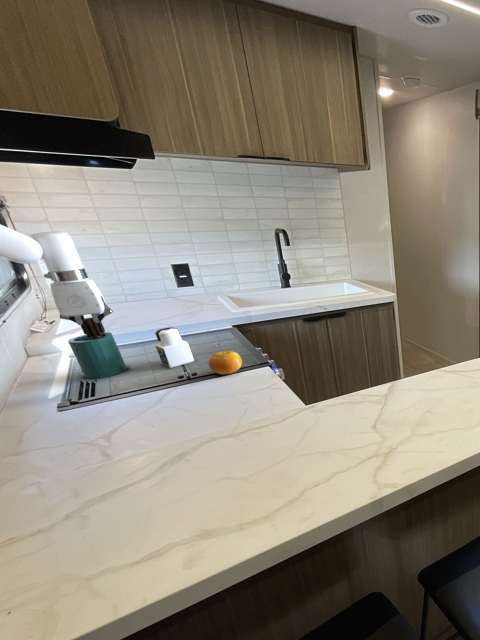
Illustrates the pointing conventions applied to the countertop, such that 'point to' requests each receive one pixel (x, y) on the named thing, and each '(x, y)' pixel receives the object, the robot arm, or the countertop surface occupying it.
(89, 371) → the jar
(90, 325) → the brush
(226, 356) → the fruit
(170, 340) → the medicine bottle
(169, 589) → the countertop surface
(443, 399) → the countertop surface
